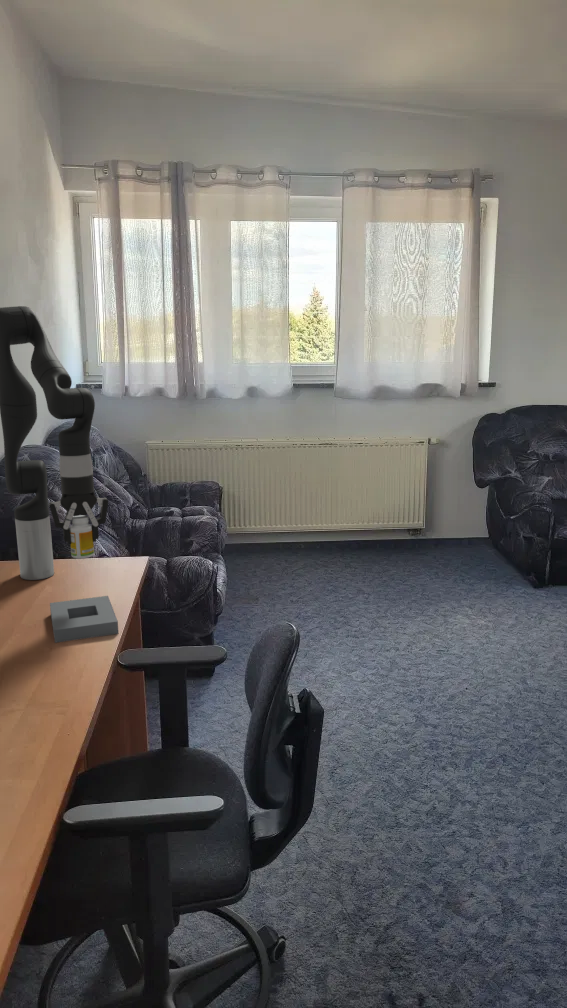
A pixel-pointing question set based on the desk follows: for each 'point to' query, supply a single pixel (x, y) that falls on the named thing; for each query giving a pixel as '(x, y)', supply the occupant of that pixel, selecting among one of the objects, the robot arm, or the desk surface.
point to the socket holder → (83, 619)
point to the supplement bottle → (81, 537)
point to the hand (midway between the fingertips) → (81, 541)
